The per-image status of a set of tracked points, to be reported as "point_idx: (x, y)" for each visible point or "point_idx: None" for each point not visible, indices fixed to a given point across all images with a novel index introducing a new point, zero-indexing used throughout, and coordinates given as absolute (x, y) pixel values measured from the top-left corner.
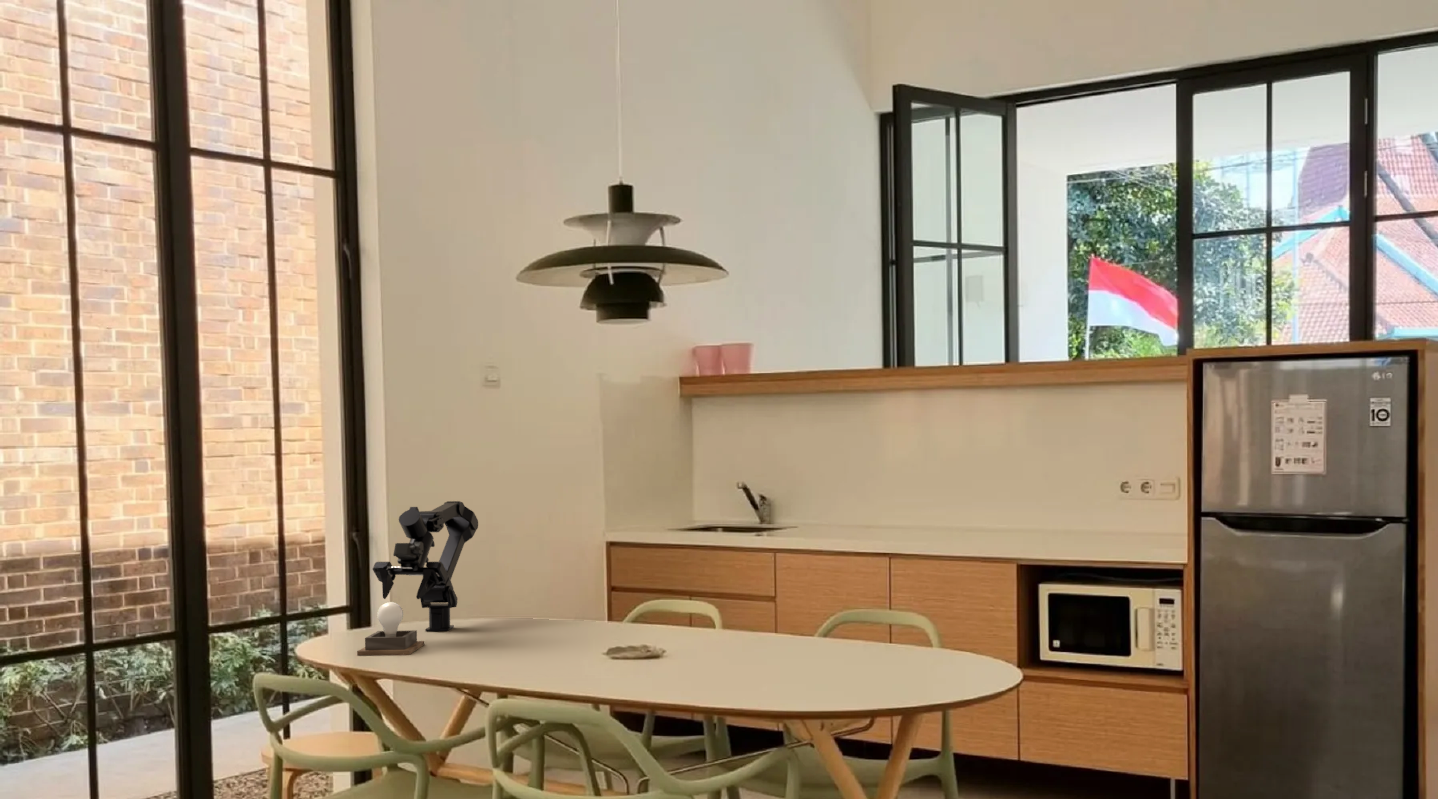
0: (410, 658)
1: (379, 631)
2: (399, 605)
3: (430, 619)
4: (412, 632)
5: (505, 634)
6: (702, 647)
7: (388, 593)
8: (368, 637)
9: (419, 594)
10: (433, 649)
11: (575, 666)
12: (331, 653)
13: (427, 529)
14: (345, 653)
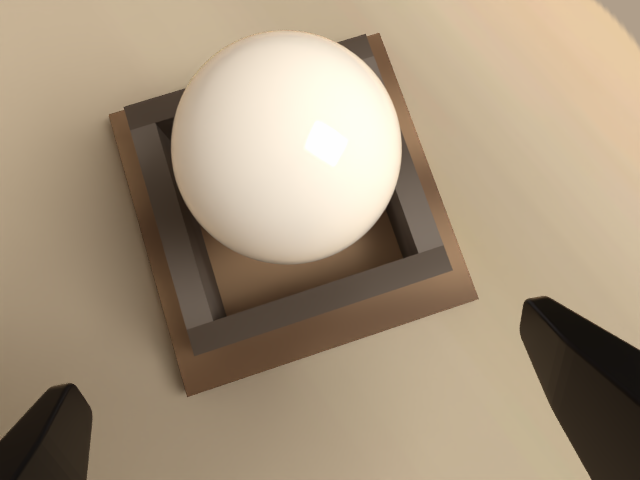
0: (59, 46)
1: (430, 254)
2: (194, 164)
3: None
4: (175, 274)
5: None
6: None
7: (576, 446)
8: (354, 51)
9: (24, 424)
10: (66, 285)
11: None
12: (547, 59)
13: None
14: (475, 76)
